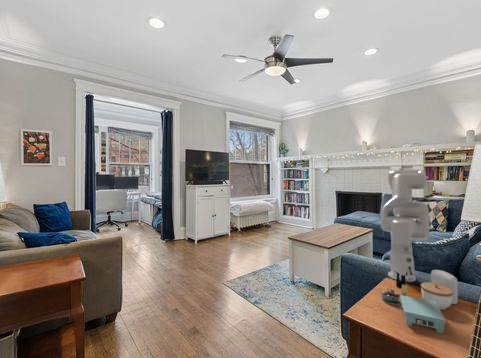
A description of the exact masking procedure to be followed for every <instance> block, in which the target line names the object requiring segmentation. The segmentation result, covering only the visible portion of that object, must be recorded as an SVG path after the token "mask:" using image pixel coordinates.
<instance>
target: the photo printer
mask: <svg viewBox="0 0 481 358" xmlns="http://www.w3.org/2000/svg"><path fill="white" fill-rule="evenodd" d="M430 283H436V284H440V285H443V286H446V287H448V288H450V289H451V290H452V291H453V300H452V303H451V305H457V303H458V301H459V300H458V299H459V295H458V293H459V292H458V291H459V289H458V287H459V283H458V279H457V277H455V276H454V275H453V274H451V273H449V272H447V271H445V270H441V269H432V270H431V272H430Z"/></svg>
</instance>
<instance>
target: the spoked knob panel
mask: <svg viewBox="0 0 481 358" xmlns="http://www.w3.org/2000/svg"><path fill="white" fill-rule="evenodd" d="M381 300H382V302H384V303H386V304H387V305H391V306H396V307H398V308H399V309H401V310H403V314H404V316H405V317H404V318H405V320H404V322H405V325H407V326H413V324H415V325H420V326H422V327H423V326H425V327H428V328H433V329H435V330H436V332H437V333H441V334H444V331H445V325H446V323H447V320H446V317H444V315H443V313H442V311H441V310H440V309H439V307H438V306H437V304H436V302H434V301H429V300H424V299H423V298H418V297H412V296H408V295H407V296H403V295H402V294H400V297H399V302H398V303H392V302H388V301H386V300H384V299H383V298H382V297H381Z"/></svg>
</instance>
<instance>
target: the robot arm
mask: <svg viewBox="0 0 481 358" xmlns="http://www.w3.org/2000/svg"><path fill="white" fill-rule="evenodd" d="M427 178H428V177H427V174H426V171H425V170H424V169H394V170H390V171H389V172H388V174H387V180H388V184H389V187H390V189H391V199H389V200H388V201H386V203H384V205H383V206H382V209H381V211H380V228H381V229H382V231H385V232H387V233H388V232H389V233H390V239H391V241H390V242H391V243H390V247H391V248H390V254H389V267H390V271H388V272H387V276H388V277H389V278H391V279H393V280H395V283H396V286H395V287H396V288H397V289H399V290H402V284H406V283H413V282H416V276H415V261H414V255H413V246H412V239H413V240H420V241H426V240H428V239H429V238H430V217H429V215H430V214H429V213H430V211H429V207H428V204H427V203H425V202H422V201H413V194H412V193H413V190H424V189H426V187H427V184H428V179H427ZM390 211H392V212H393V216H391V215H390V216H389V215H388V214H389V212H390ZM406 285H407V284H406Z"/></svg>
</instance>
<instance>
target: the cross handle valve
mask: <svg viewBox="0 0 481 358" xmlns="http://www.w3.org/2000/svg"><path fill="white" fill-rule="evenodd" d="M380 294H381V299H382V298H383V299H384V300H386V301H388V302H392V303H398V302H399V301H400V295H403V296H408V284H402V289H401V294H399V293H396V292H395V290H394V289H391V288H388V289H387V291H381V293H380Z"/></svg>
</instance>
